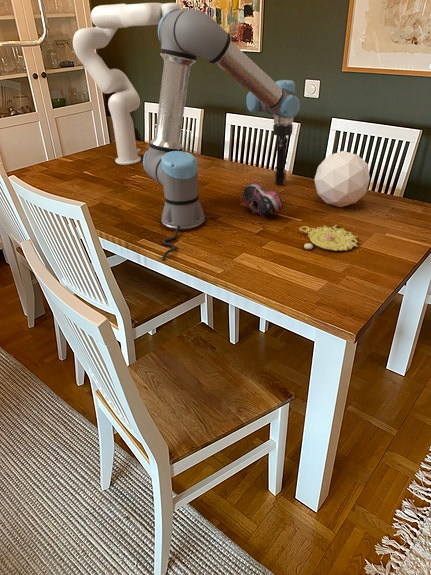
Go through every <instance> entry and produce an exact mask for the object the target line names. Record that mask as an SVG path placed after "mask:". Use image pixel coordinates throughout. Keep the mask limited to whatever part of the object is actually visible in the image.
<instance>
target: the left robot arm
mask: <svg viewBox="0 0 431 575" xmlns="http://www.w3.org/2000/svg"><path fill="white" fill-rule="evenodd" d="M175 9H181V5H180V3H179V2H165V3H161V2H141V3H130V4H129V3H115V4H101V5H96V6H95V7H93V9H92V10H91V12H90V20H91V22H92V24H93V25H94V26H91V27H83V28H82V27H81V28H80V29H78V30H77V31H75V33H74V35H73V37H72V46H73V51H74V54H75V56H76V57H77V59H78V61H79V62H80V63H81V64H82V66H83V67H84V68H85V69H86V71H87V72H88V74H89V76H90V77H91V79H92V80H93V82H94V83H95V84H96V86H97V88H98V89H99V90H100V91H101V93H103V94H106V95H107V94H111V93H114V94H112V95H111V96H110V97H109V98H108V102H107V106H108V111H109V113H110V117H111V121H112V126H113V132H114V139H115V146H116V153H117V157H116V158H115V159H114V161H115V163H116V164H118V165H123V166H125V165H126V166H127V165H128V166H129V165H135V164H138V163H140V162H141V161H142V158H141V156H139V154H140V153H141V149H140V148H137V142H136V141H137V140H136V134H135V126H134V121H133V117H132V116H131V113H132V112H134V111H137V110H138V109H139V108H140V106H141V99H140V96H139V93H138V92H137V90H136V89H135V87H134V85H133V83H131V81H130V79H129V77H128V76H127V75H126V73H124V72H123V71H122V70H120V69H119V68H109V67H108V66H107V64H106V63H105V61H104V60H103V58H102V57H101V56H100V55H99V54H97V53H96V52H95V51H94V50H99V49H103V48H106V46H108V45H109V43H110V42H111V40H112V39H113V37H114V35H115V34H116V33H117V30H118V29H125V28H129V27H141V26H143V27H144V26H156V25H157V26H159V22H160V20H161V18H162V17H163V16H164V15H165V14H166V13H167V12H169V11H172V10H175Z"/></svg>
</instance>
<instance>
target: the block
mask: <svg viewBox="0 0 431 575" xmlns="http://www.w3.org/2000/svg"><path fill="white" fill-rule="evenodd" d="M276 174H277V169H275V172H274V184H276ZM286 179H287V169H285V170H283V184H282V185H285V184H286ZM276 185H277V184H276Z"/></svg>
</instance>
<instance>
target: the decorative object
mask: <svg viewBox="0 0 431 575" xmlns="http://www.w3.org/2000/svg"><path fill="white" fill-rule="evenodd" d="M303 228H304V229H305V230H304V229H303ZM299 231H300V232H303V233H305V234H307V237H308V238H309V240H310V241H311V243H304V244H303V248H304V249H305V250H313V249H314V245H315V246H316V247H318V248H321V249H324V250H328V251H335V252H341V251H348V250H352V249H354V247H356V248H358V247H359V245H358V244H357V243H359V240H357V238H359V237H358V235H353V234H352V231H347V230H346V229H345V228H344V227H342V228H338V224H335V225H333V226H331V227H328V226H327V225H326V224H325V225H323V226H322V227H321V226H317V227H316V228H314V227H309V226H308V225H302V226H300V227H299ZM313 244H314V245H313Z"/></svg>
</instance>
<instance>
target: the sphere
mask: <svg viewBox="0 0 431 575" xmlns="http://www.w3.org/2000/svg"><path fill="white" fill-rule="evenodd" d="M370 180H371V177H370V170H369V165H368V163H367V162H366V161H365V160H364V159H363V158H362V157H361V156H359V155H358V154H357V153H352V152H350V151H349V152H348V151H345V150H341V151H338V152H335V153H331V154H328V155H327V156H326V157H325V158H324V159H323V160H322V161H321V163H319V165H318V166H317V169H316V173H315V176H314V179H313V181H314V185H315V190H316V193H317V195H318V196H319V197H320V199H322V201H324V202H325V204H327V205H330V206H335V207H338V208H343V207H347V206H350V205H353V204H356V203H357V202H358V201H359V200H360V199H361V198H363V197H364V196H365V195H366V194H367V192H368V188H369V184H370Z"/></svg>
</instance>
